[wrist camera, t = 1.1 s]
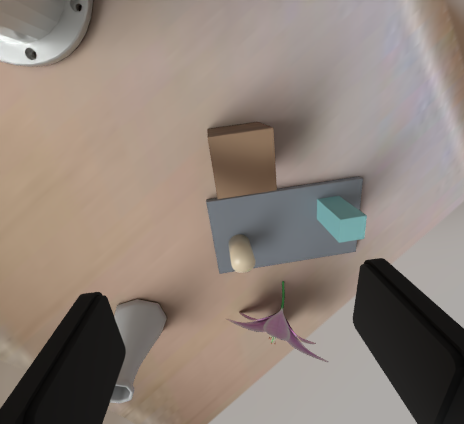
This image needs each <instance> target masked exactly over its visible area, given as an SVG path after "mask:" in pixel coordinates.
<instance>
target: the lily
mask: <svg viewBox="0 0 464 424" xmlns="http://www.w3.org/2000/svg"><path fill="white" fill-rule="evenodd" d="M284 298H285V290H284V281H282V305H281V310H280V311H279V312H278V313H276V314H274V315H271V316H269V317H266V318H262V319H255V318H251V317H249V316H247V315H245V314H243V313H240V312H239V313H240V314H241V315H242V316H244V317H245V318H247V319H249V320H257V321H254V322H247V323H242V322H236V321H232V320H229V319H227V320H229V321H231V322H232V323H234V324H237V325H239V326H241V327H243V328H246V329H248V330H252V331H256V332H267V333H268V334H269V335H271V336H273V339H274V337H275V339H276V338H278V339H281V340H284V341H287V342H288V343H289V344H290V345H291V346H293V347H294V348H295V349H297V350H299V351H301V352H303V353H305V354H307V355H309V356H312V357H315V358H317V359H320V360H323V361H325V362H328V361H326V360H324V359H322V358H320V357H318V356H316V355H315V354H313V353H312V352H310V351H309V350H308V349H306V348H305V347H304V346H303V345H302V343H301V342H300V341H299V340H298V339H297V337H298V338H299V339H300V340H301V341H303V342H305V343H309V344H316V343H313V342H310V341H308V340H305V339H302V338H301V337H299V336H297V335H296V334H295V333H294V332H293V330H292V328H291V327H290V325H289V323H288V321H287V320H286V318H285V316H284V314H283V307H284ZM271 338H272V337H269V339H271ZM273 339H272V342H273ZM272 342H271V344H272ZM274 343H276V342H274Z"/></svg>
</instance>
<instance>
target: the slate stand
mask: <svg viewBox="0 0 464 424" xmlns="http://www.w3.org/2000/svg"><path fill="white" fill-rule="evenodd" d="M362 182H363V178H361V177H352V178H346V179H339V180H333V181H326V182H320V183H313V184H306V185H300V186H293V187H287V188H280V189H277V190H275V191H268V192H262V193H255V194H249V195H242V196H236V197H229V198H222V199H218V198H215V199H208V200H206V203H207V208H208V214H209V219H210V224H211V230H212V235H213V241H214V246H215V252H216V257H217V262H218V268H219V273H220V274H221V273H227V272H233V271H236V272H239V273H246V272H249V271H250V270H252V269H253V268H258V267H264V266H270V265H276V264H282V263H289V262H295V261H301V260H307V259H313V258H319V257H325V256H332V255H338V254H344V253H350V252H356V243H357V240H353V241H347V242H341V243H339V242H338V241H337V240H336V239H335V238H334V237H333V236H332V235H331V234H330V233H329V232H328V230H327V229H326V228H325V227H324V226H323V225H322V224H321V223H320V222H319V221H318V220H317V199H322V198H328V197H335V196H340V197H341V198H343V199H344V200H346V201H347V202H348V203H350V204H351V205H353V206H354V207H355V208H357V209H358V210H360V202H361V192H362Z"/></svg>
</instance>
